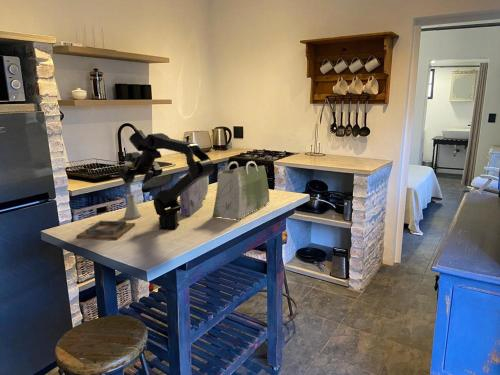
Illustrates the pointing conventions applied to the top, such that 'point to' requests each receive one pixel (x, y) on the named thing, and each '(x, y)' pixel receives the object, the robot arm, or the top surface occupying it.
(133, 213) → the flask
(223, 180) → the grocery bag
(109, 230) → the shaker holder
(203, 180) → the mug
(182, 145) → the robot arm
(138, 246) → the top surface
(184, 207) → the cake pan box
